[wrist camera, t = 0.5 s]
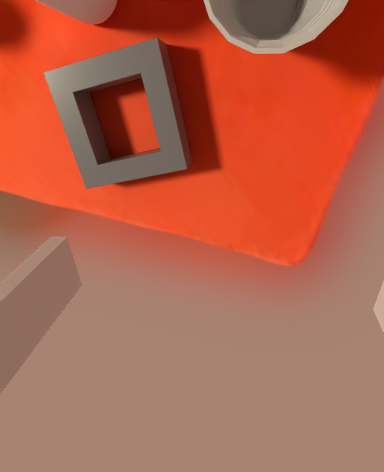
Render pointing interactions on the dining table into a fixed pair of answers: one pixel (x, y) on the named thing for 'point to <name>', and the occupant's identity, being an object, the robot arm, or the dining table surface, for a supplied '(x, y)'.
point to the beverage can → (83, 9)
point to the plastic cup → (272, 22)
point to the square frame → (87, 124)
